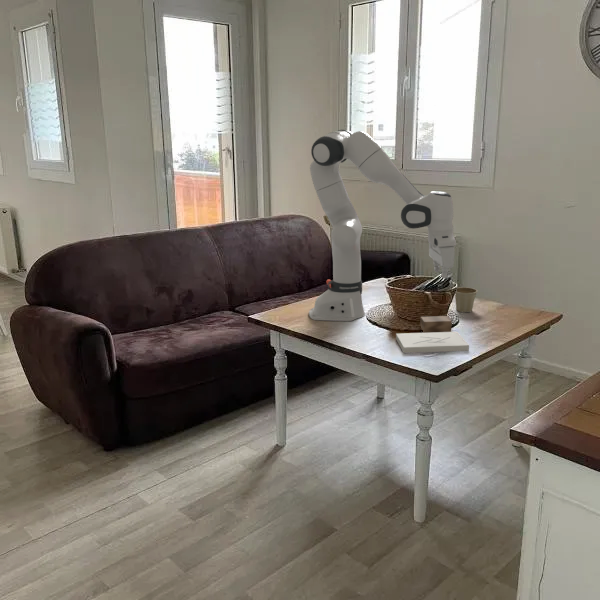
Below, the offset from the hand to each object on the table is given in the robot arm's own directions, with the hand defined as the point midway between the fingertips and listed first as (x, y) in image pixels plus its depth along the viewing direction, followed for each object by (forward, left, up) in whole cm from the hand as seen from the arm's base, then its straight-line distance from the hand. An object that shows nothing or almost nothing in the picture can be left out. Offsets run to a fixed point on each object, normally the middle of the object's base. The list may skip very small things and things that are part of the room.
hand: (440, 274), depth 223 cm
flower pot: (+16, +21, -21) cm, 34 cm away
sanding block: (-2, -3, -21) cm, 21 cm away
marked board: (-7, -17, -21) cm, 28 cm away
